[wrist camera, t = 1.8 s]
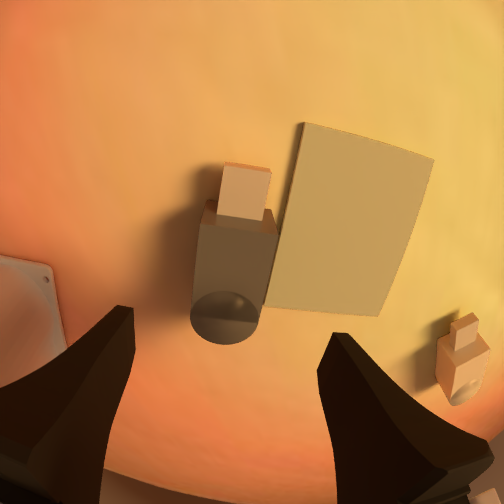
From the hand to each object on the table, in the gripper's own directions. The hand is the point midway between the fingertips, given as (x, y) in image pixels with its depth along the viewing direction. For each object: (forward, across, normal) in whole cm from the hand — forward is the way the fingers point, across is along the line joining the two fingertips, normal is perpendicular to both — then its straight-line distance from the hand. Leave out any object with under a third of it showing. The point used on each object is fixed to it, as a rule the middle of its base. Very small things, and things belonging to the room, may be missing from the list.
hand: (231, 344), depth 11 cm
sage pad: (+8, -6, -2) cm, 11 cm away
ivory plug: (+8, -20, +7) cm, 23 cm away
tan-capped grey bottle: (+8, 0, 0) cm, 8 cm away
